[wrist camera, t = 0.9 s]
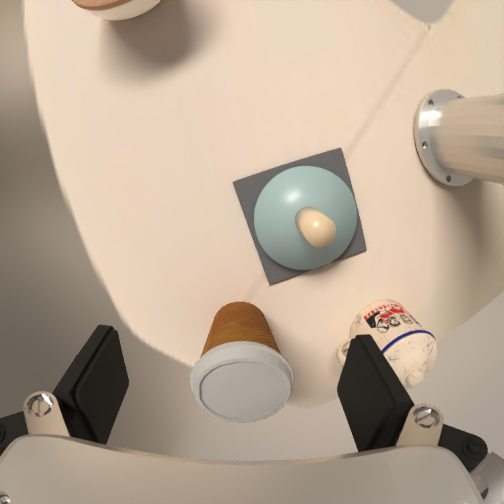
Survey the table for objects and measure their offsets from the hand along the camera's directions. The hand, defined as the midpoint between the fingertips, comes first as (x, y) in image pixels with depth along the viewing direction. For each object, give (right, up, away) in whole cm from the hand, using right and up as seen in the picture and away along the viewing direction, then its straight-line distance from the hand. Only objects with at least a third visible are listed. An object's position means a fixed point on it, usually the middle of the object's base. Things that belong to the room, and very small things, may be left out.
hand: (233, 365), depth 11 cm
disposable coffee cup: (-1, -4, +25) cm, 25 cm away
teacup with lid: (+16, -6, +26) cm, 31 cm away
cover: (+6, +8, +20) cm, 23 cm away
